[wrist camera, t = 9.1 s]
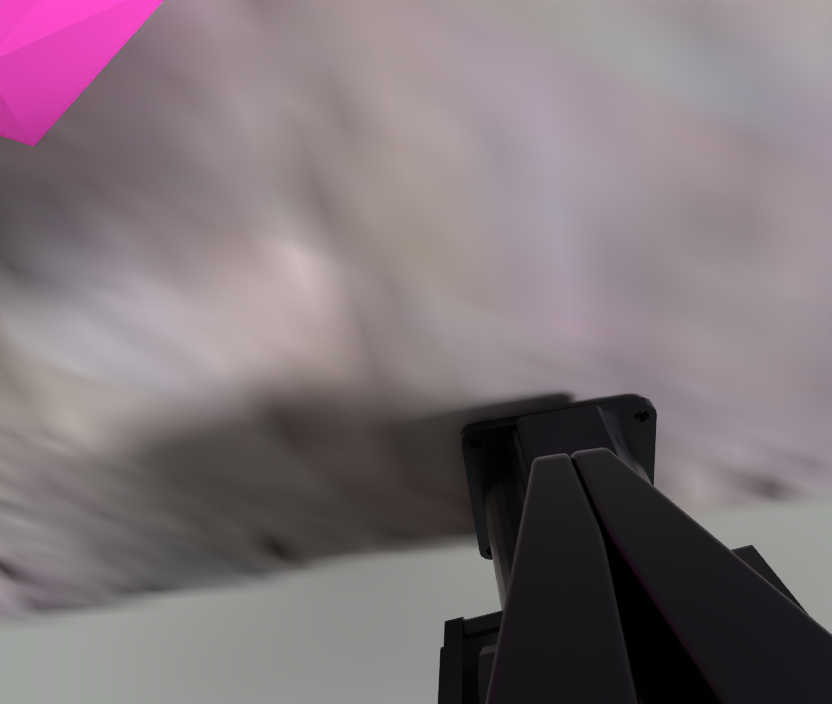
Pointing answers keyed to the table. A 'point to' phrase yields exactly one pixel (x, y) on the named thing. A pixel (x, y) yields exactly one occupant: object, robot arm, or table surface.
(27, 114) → the toy
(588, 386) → the table surface
